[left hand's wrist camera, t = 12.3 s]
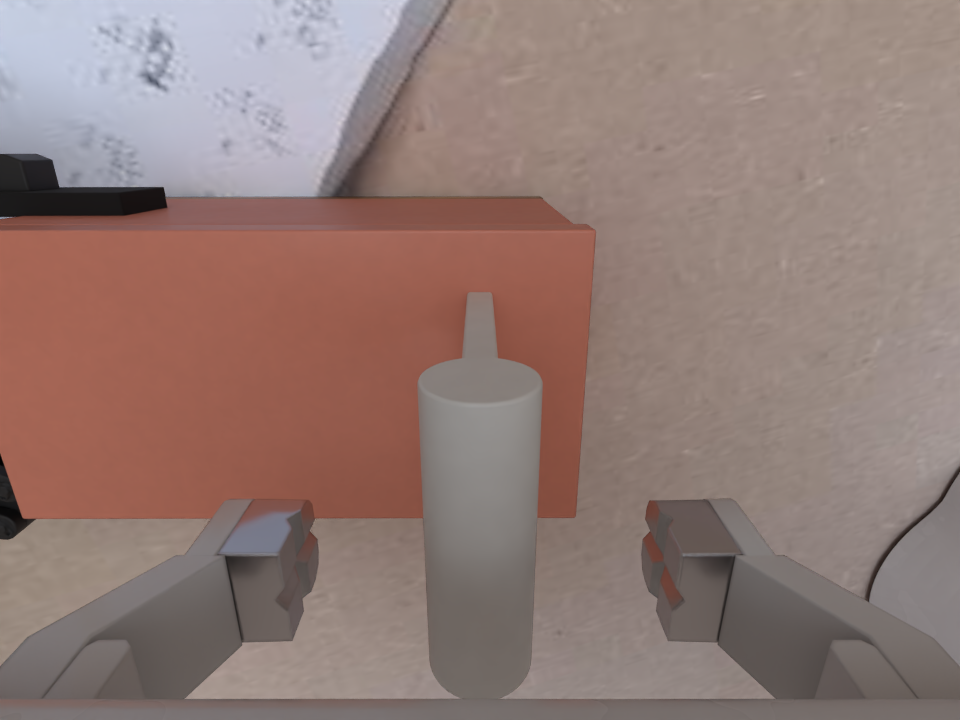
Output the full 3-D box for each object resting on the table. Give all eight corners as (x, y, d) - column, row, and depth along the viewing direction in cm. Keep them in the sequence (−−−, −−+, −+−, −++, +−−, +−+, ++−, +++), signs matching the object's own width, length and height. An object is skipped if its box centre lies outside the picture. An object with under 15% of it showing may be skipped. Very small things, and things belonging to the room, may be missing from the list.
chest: (540, 196, 25) (574, 223, 16) (533, 385, 29) (558, 496, 19) (148, 197, 25) (-38, 224, 16) (186, 385, 29) (49, 497, 19)
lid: (588, 223, 16) (704, 304, 8) (570, 496, 19) (638, 759, 11) (-39, 224, 16) (-593, 306, 8) (49, 497, 19) (-276, 760, 11)
